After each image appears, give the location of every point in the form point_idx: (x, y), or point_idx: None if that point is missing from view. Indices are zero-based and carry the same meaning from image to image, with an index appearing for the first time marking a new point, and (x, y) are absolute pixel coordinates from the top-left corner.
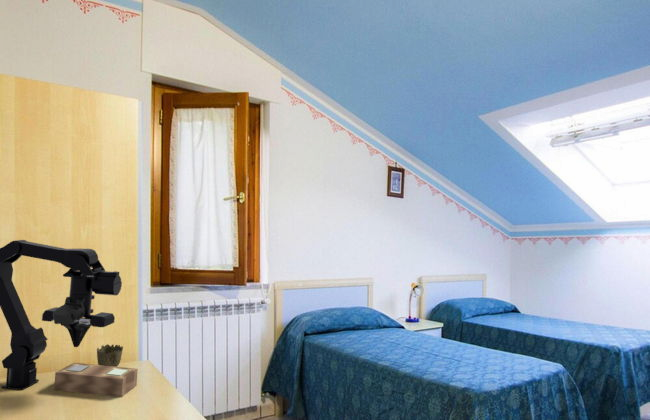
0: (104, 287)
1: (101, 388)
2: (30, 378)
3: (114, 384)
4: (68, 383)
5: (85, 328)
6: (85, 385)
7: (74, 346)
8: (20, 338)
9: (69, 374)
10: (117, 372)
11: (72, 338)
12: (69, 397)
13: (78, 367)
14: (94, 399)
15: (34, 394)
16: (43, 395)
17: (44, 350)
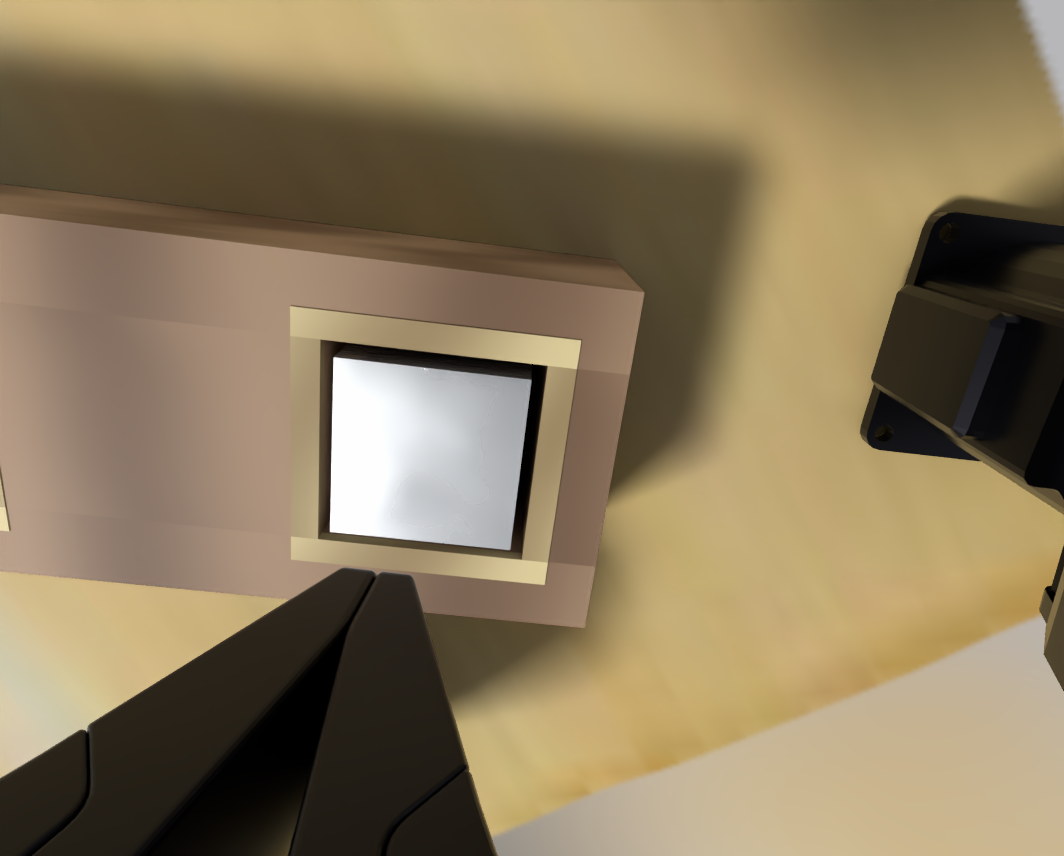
0: None
1: (29, 197)
2: (934, 309)
3: None
4: (450, 251)
5: None
6: (231, 224)
7: (391, 575)
8: None
9: (429, 265)
10: None
11: (396, 701)
12: (356, 88)
13: (429, 477)
14: (63, 63)
15: (758, 127)
16: (653, 110)
17: (1044, 650)
